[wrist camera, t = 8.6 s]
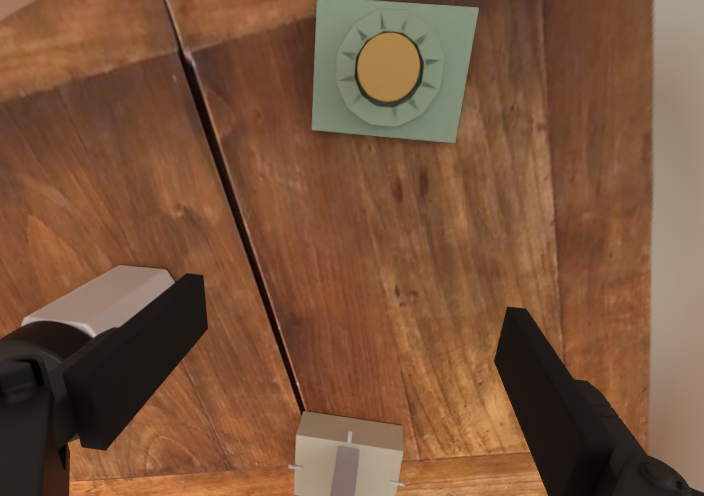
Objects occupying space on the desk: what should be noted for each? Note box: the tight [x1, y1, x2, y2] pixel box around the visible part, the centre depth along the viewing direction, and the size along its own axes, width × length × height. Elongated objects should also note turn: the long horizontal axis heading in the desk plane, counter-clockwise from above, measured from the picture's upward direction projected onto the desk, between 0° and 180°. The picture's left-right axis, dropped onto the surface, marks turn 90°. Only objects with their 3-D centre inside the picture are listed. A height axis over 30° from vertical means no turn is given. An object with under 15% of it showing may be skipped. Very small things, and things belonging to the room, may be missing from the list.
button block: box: [312, 0, 479, 143], centre depth 24 cm, size 10×8×4 cm
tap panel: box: [288, 411, 405, 496], centre depth 37 cm, size 11×11×3 cm
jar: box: [0, 265, 175, 442], centre depth 29 cm, size 9×8×12 cm
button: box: [357, 33, 420, 102], centre depth 22 cm, size 4×4×2 cm
